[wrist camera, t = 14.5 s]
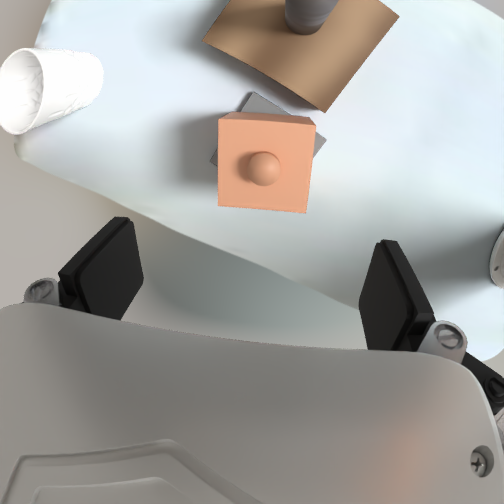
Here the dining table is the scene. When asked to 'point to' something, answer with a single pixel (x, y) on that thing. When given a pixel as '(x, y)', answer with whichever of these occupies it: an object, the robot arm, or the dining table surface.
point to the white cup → (46, 86)
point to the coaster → (264, 106)
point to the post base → (303, 41)
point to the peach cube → (265, 161)
